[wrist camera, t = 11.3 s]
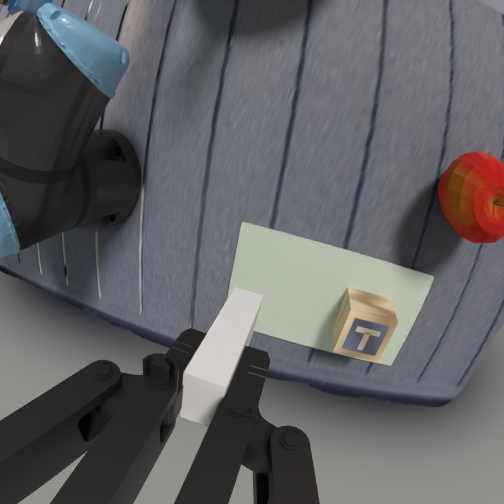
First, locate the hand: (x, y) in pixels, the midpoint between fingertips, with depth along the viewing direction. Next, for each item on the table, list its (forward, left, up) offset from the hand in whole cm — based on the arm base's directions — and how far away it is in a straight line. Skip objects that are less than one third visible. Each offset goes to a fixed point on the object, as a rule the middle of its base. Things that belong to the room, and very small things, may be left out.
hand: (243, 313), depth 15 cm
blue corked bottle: (-59, +36, -23) cm, 73 cm away
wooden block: (+12, -9, -16) cm, 22 cm away
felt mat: (+7, -9, -22) cm, 25 cm away
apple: (+19, +10, -23) cm, 31 cm away
